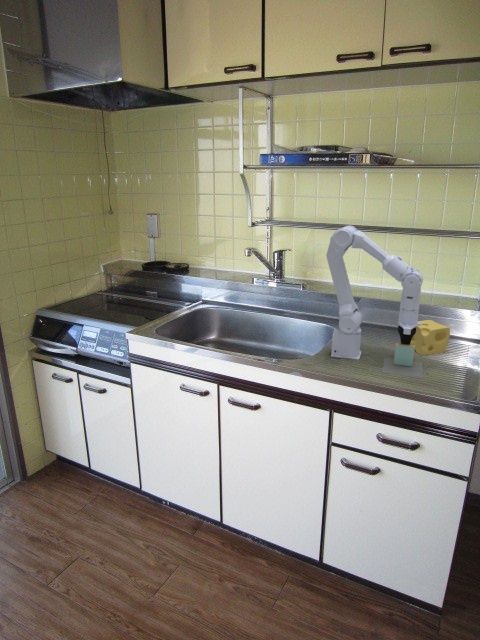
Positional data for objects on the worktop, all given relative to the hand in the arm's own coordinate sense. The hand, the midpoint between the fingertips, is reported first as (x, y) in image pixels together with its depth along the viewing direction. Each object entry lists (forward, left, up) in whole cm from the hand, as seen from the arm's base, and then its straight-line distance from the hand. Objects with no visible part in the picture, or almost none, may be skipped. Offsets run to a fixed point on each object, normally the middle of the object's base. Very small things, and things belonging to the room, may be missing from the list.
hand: (404, 348), depth 150 cm
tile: (0, -2, -5) cm, 5 cm away
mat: (0, -4, -6) cm, 7 cm away
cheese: (+7, +16, -6) cm, 18 cm away
